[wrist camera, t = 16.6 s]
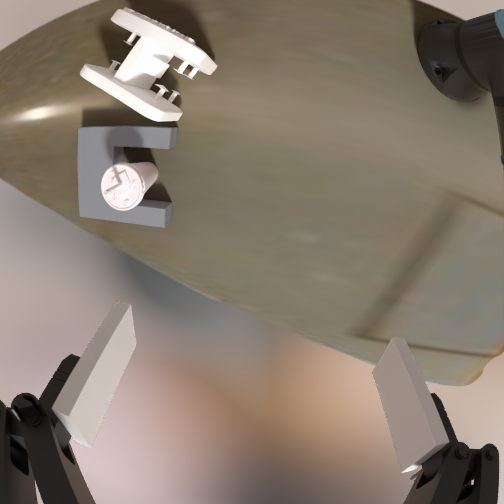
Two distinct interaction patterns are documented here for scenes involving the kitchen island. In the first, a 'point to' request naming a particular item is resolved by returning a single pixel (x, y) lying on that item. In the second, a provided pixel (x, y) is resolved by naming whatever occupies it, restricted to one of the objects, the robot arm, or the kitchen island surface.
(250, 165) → the kitchen island surface
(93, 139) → the notched board
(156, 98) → the cable organizer
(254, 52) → the kitchen island surface
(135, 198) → the smoothie
